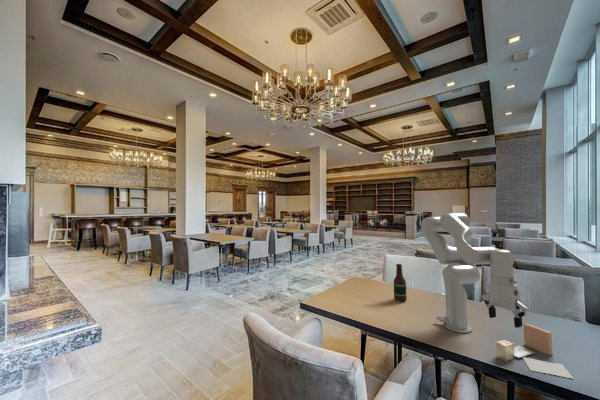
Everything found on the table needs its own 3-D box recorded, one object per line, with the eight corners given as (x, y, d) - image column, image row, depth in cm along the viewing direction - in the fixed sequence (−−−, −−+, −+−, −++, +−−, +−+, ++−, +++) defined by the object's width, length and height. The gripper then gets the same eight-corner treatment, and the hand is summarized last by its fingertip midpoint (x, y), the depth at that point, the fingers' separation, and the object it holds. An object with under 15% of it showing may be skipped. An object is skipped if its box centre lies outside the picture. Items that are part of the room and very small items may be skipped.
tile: (549, 355, 105) (548, 333, 105) (524, 344, 114) (523, 324, 114) (552, 354, 106) (551, 332, 106) (527, 343, 114) (526, 323, 115)
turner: (508, 362, 101) (508, 347, 101) (494, 355, 106) (493, 340, 107) (534, 354, 106) (533, 340, 106) (519, 347, 111) (518, 333, 111)
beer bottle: (394, 302, 167) (392, 265, 168) (394, 298, 174) (392, 262, 175) (406, 303, 164) (405, 266, 165) (406, 299, 172) (405, 263, 172)
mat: (530, 370, 96) (530, 369, 96) (522, 357, 104) (522, 357, 104) (574, 379, 91) (574, 378, 91) (562, 365, 99) (562, 364, 99)
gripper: (532, 284, 98) (536, 329, 97) (487, 274, 115) (489, 312, 114) (519, 286, 96) (522, 333, 95) (475, 276, 112) (477, 315, 112)
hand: (504, 322), depth 104 cm, fingers open, 9 cm apart
